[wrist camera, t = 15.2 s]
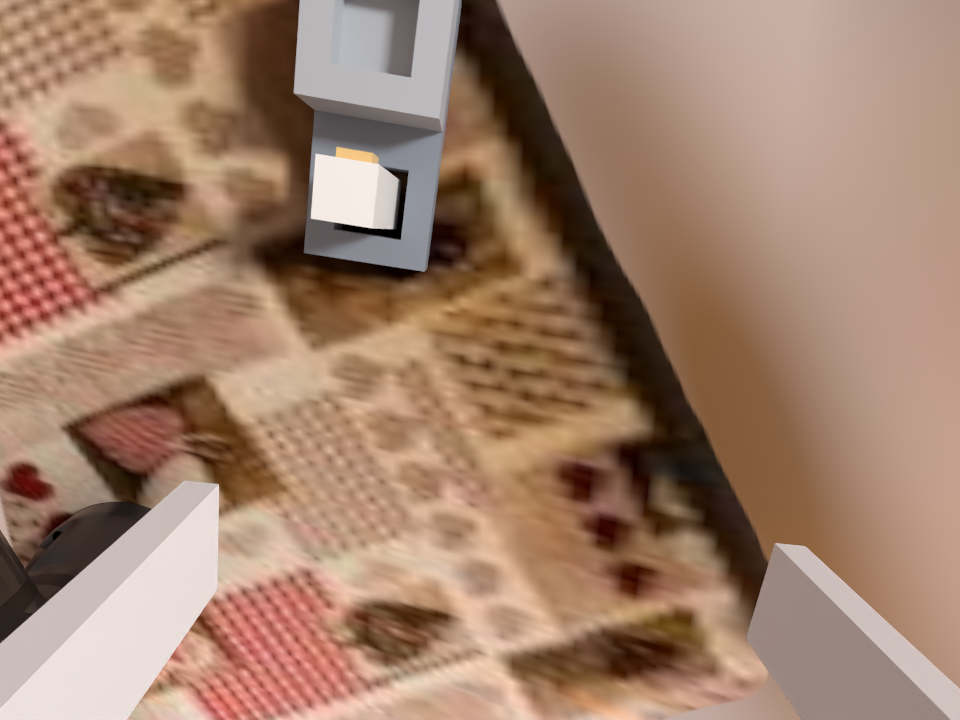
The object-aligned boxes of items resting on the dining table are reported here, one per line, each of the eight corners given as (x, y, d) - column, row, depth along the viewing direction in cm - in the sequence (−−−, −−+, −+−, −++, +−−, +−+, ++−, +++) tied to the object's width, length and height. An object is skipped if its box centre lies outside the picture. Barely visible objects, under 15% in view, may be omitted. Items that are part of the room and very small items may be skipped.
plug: (350, 221, 45) (310, 218, 33) (356, 164, 44) (316, 140, 32) (396, 229, 45) (372, 228, 34) (403, 172, 44) (380, 150, 33)
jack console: (314, 251, 46) (283, 255, 38) (335, -18, 41) (304, -77, 33) (426, 269, 46) (419, 276, 38) (461, 6, 41) (460, -47, 34)
